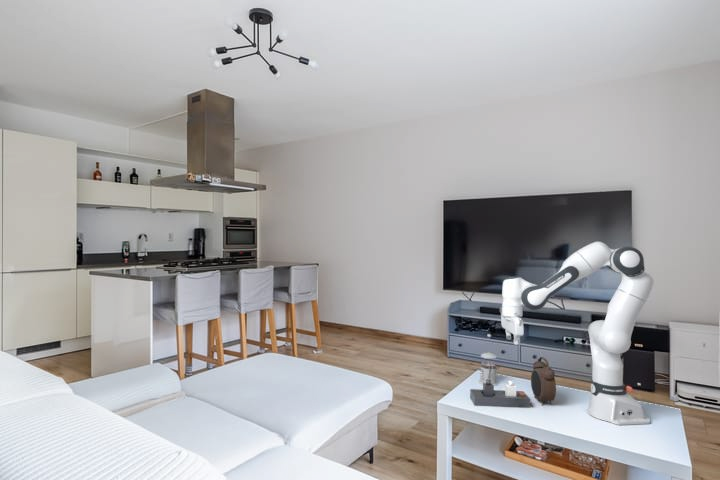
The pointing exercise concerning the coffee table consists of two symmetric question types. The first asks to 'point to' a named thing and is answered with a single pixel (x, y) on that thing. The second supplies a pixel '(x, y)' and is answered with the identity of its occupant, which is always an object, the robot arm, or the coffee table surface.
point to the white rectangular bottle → (510, 389)
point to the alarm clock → (543, 381)
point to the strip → (499, 399)
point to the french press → (488, 369)
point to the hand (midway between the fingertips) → (512, 341)
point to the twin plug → (488, 388)
